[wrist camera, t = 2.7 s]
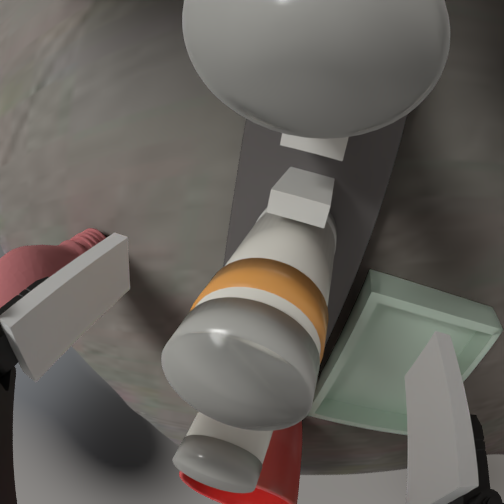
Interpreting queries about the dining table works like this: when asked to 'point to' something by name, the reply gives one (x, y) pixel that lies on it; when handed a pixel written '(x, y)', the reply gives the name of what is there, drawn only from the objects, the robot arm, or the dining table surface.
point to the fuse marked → (258, 328)
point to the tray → (395, 349)
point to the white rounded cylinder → (318, 60)
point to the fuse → (222, 455)
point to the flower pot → (267, 473)
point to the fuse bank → (316, 190)
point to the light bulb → (40, 262)
